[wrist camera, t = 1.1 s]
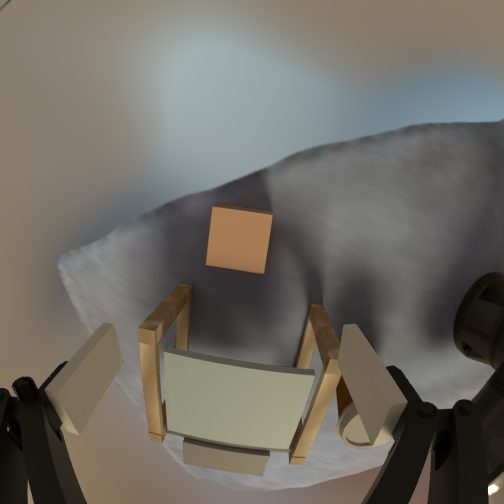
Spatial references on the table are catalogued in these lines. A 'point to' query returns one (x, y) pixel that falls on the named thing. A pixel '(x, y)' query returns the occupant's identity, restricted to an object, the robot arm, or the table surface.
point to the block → (239, 238)
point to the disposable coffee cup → (350, 419)
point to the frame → (155, 328)
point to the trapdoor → (232, 409)
